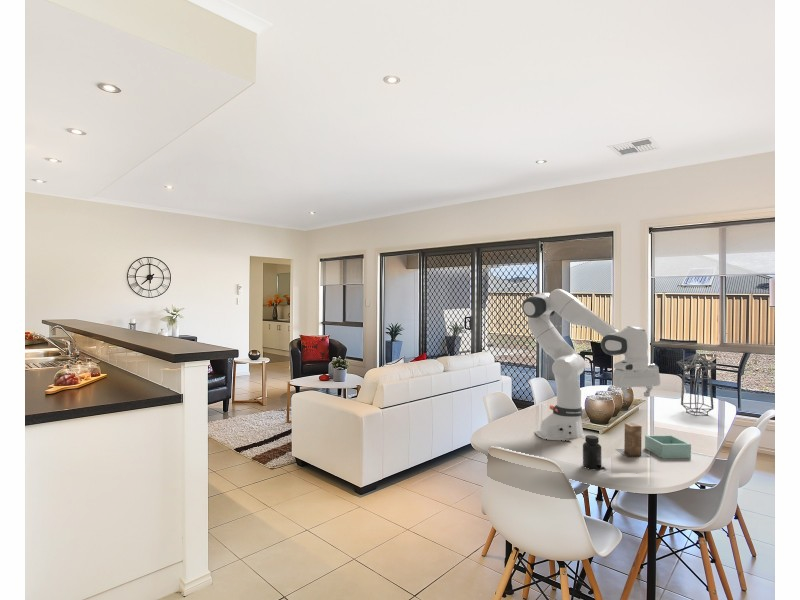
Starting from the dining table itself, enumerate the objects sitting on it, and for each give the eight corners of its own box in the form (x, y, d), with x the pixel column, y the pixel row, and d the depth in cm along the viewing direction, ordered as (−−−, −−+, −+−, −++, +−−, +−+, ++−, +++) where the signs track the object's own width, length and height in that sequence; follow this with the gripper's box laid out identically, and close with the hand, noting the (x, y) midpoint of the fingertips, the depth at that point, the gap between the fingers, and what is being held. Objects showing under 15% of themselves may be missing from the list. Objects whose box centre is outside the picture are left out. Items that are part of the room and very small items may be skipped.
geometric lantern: (719, 417, 250) (719, 356, 250) (691, 418, 251) (691, 356, 250) (701, 410, 266) (701, 352, 265) (674, 410, 267) (674, 352, 266)
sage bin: (662, 461, 182) (662, 444, 182) (644, 451, 194) (645, 435, 194) (690, 461, 182) (690, 444, 182) (671, 451, 194) (671, 435, 194)
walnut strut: (630, 455, 185) (630, 426, 185) (624, 451, 190) (624, 423, 189) (641, 454, 185) (641, 426, 185) (634, 451, 190) (635, 423, 190)
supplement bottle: (596, 463, 179) (596, 434, 179) (604, 470, 172) (605, 439, 172) (579, 463, 179) (579, 434, 178) (587, 470, 172) (587, 439, 172)
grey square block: (627, 461, 182) (628, 442, 182) (614, 452, 192) (615, 435, 192) (651, 460, 183) (651, 442, 183) (637, 452, 193) (637, 435, 193)
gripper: (652, 362, 194) (653, 394, 194) (610, 364, 190) (610, 396, 190) (663, 364, 188) (664, 397, 187) (619, 366, 184) (620, 399, 184)
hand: (636, 397), depth 189 cm, fingers open, 8 cm apart
